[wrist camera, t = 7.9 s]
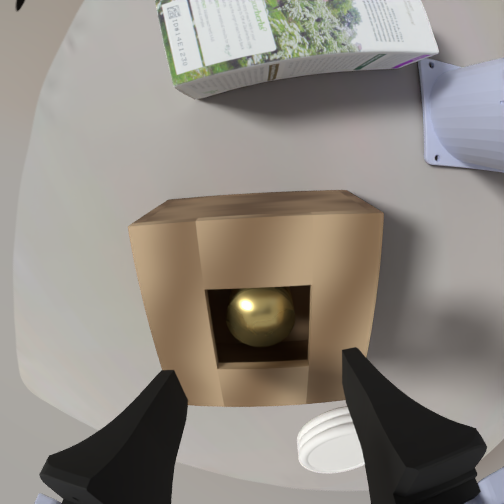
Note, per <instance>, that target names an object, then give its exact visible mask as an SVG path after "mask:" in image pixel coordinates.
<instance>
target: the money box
mask: <svg viewBox="0 0 504 504" xmlns="http://www.w3.org/2000/svg"><path fill="white" fill-rule="evenodd" d="M383 219H384V213H383V212H381V211H380V210H378V209H376V208H375V207H373V206H372V205H370V204H368V203H367V202H365V201H363V200H362V199H360V198H358V197H357V196H355V195H353V194H352V193H350V192H348V191H347V190H325V191H292V192H268V193H250V194H234V195H219V196H206V197H194V198H182V199H171V200H167V201H166V202H164V203H163V204H161V205H159V206H158V207H156V208H155V209H153V210H152V211H150V212H149V213H147V214H146V215H144V216H143V217H141V218H140V219H138V220H137V221H135V222H134V223H132V224H131V225H129V226H128V231H129V237H130V242H131V247H132V253H133V258H134V263H135V267H136V272H137V277H138V281H139V286H140V290H141V294H142V298H143V303H144V307H145V311H146V315H147V318H148V322H149V326H150V330H151V333H152V337H153V340H154V344H155V347H156V351H157V354H158V357H159V361H160V364H161V367H162V370H174V371H175V373H176V375H177V377H178V380H179V382H180V384H181V386H182V388H183V390H184V393H185V395H186V397H187V399H188V405H195V406H222V407H256V406H283V405H299V404H312V403H322V402H332V401H340V400H346V399H345V395H344V390H343V385H342V350H344V349H349V348H354V347H357V348H358V349H359V350H360V351H361V352H362V354H363V355H364V356H365V357H367V351H368V346H369V341H370V335H371V329H372V323H373V317H374V310H375V303H376V295H377V288H378V279H379V270H380V260H381V249H382V236H383ZM282 286H290V291H291V296H292V301H293V307H294V312H295V323H294V326H293V329H292V331H291V332H290V334H289V335H288V336H287V337H286V338H285V339H283V340H282V341H280V342H279V343H277V344H274V345H271V346H266V347H255V346H250V345H247V344H245V343H242V342H241V341H239V340H238V339H236V338H235V337H234V336H233V335H232V333H231V332H230V330H229V328H228V326H227V322H226V313H227V308H228V303H229V298H230V293H231V289H236V288H260V287H282Z"/></svg>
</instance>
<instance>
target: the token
mask: <svg viewBox="0 0 504 504" xmlns="http://www.w3.org/2000/svg"><path fill="white" fill-rule="evenodd" d="M226 322H227V326H228V328H229V330H230V332H231V333H232V335H233V336H234V337H235V338H236V339H238V340H239V341H241V342H242V343H245V344H247V345H250V346H255V347H266V346H271V345H274V344H277V343H279V342H280V341H282V340H283V339H285V338H286V337H287V336H288V335H289V334H290V332H291V331H292V329H293V326H294V323H295V312H294V307H293V301H292V296H291V291H290V286H282V287H260V288H236V289H231V293H230V298H229V303H228V308H227V313H226Z"/></svg>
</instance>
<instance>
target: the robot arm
mask: <svg viewBox="0 0 504 504" xmlns="http://www.w3.org/2000/svg"><path fill="white" fill-rule="evenodd" d="M429 63H430V64H431V66H432V68H430V67H429ZM418 67H419V75H420V84H421V95H422V108H423V125H424V159H425V161H426V163H428V164H431V165H442V166H453V167H463V168H472V169H480V170H488V171H495V172H502V173H504V58H499V59H495V60H490V61H486V62H482V63H478V64H474V65H470V66H467V67H463V68H462V67H459V66H455V65H452V64H448V63H444V62H441V61H437V60H432V59H428V58H425V59H422V60H420V61H418ZM436 155H437V157H438V159H437V161H436V160H435V156H436ZM342 385H343V390H344V395H345V399H346V404H347V407H348V410H349V412H350V415H351V418H352V421H353V424H354V427H355V430H356V433H357V436H358V439H359V442H360V445H361V449H362V453H363V458H364V463H365V468H366V474H367V480H368V486H369V492H370V499H371V504H504V467H502V468H500V469H499V470H497V471H495V472H494V473H492V474H490V475H488V476H487V477H485V478H483V479H482V480H481V481H479V482H478V483H477V481H476V479H475V477H476V476H477V472H476V470H475V467H476V465H477V464H478V463H479V461H480V460H481V459H482V457H483V456H484V454H485V452H486V449H487V446H486V444H485V442H484V440H483V438H482V437H481V435H480V434H479V432H478V431H477V430H476V428H473V427H470V426H467V425H464V424H460V423H457V422H455V421H452V420H450V419H447V418H445V417H442V416H440V415H439V414H437V413H435V412H433V411H431V410H429V409H427V408H425V407H424V406H422V405H420V404H419V403H417V402H416V401H414V400H413V399H411V398H410V397H408V396H407V395H406V394H404V393H403V392H402V391H400V390H399V389H398V388H397V387H396V386H394V385H393V384H392V383H391V382H390V381H389V380H388V379H386V378H385V377H384V376H383V375H382V374H381V373H380V372H379V371H378V370H377V369H376V368H375V367H374V366H373V365H372V364H371V363H370V361H369V360H368V359H367V358H366V357H365V356H364V355H363V354H362V352H361V351H360V350H359V349H358V348H357V347H354V348H349V349H344V350H342ZM187 408H188V399H187V397H186V395H185V393H184V390H183V388H182V386H181V384H180V382H179V380H178V377H177V375H176V373H175V371H174V370H162V371H161V372H160V373H159V374H158V375H157V376H156V377H155V378H154V379H153V380H152V381H151V382H150V384H149V385H148V386H147V387H146V388H145V389H144V390H143V391H142V392H141V393H140V395H139V396H138V397H137V398H136V399H135V400H134V401H133V402H132V403H131V404H130V405H129V406H128V407H127V408H126V409H125V410H124V411H123V412H122V413H121V414H120V415H118V416H117V417H116V418H115V419H114V420H113V421H111V422H110V423H109V424H107V425H106V426H105V427H104V428H102V429H101V430H99V431H98V432H96V433H95V434H93V435H92V436H90V437H89V438H87V439H85V440H84V441H82V442H80V443H78V444H76V445H74V446H72V447H70V448H68V449H65V450H63V451H60V452H58V453H55V454H53V455H50V456H49V457H48V459H47V461H46V463H45V465H44V467H43V469H42V471H41V473H40V478H41V480H42V481H43V482H44V483H45V484H46V485H47V486H48V487H50V488H51V489H52V490H53V491H54V492H56V493H57V494H58V495H59V496H61V497H62V498H63V502H62V503H61V502H59V501H57V500H55V499H53V498H50V497H48V496H46V495H44V494H41V493H39V494H38V497H37V499H36V501H35V503H34V504H171V494H172V482H173V473H174V465H175V461H176V457H177V453H178V449H179V445H180V441H181V438H182V434H183V430H184V426H185V422H186V416H187Z"/></svg>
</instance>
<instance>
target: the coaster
mask: <svg viewBox="0 0 504 504" xmlns="http://www.w3.org/2000/svg"><path fill="white" fill-rule="evenodd" d="M297 445H298V449H297V450H298V453H299V454H298V459H299V462H300V463H301V465H302V466H303V467H304V468H306V469H308V470H310V471H313V472H317V473H340V472H345V471H349V470H352V469H356V468H358V467H361V466H363V465H365V463H364V458H363V453H362V449H361V445H360V442H359V439H358V436H357V433H356V430H355V427H354V424H353V421H352V418H351V415H350V412H349V410H348V407H342V408H338V409H334V410H331V411H328V412H325V413H323V414H321V415H319V416H317V417H315V418H314V419H312V420H310V421H309V422H308V423H307V424H305V425H304V426H303V427H302V429H301V430H300V432H299V434H298V437H297Z"/></svg>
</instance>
